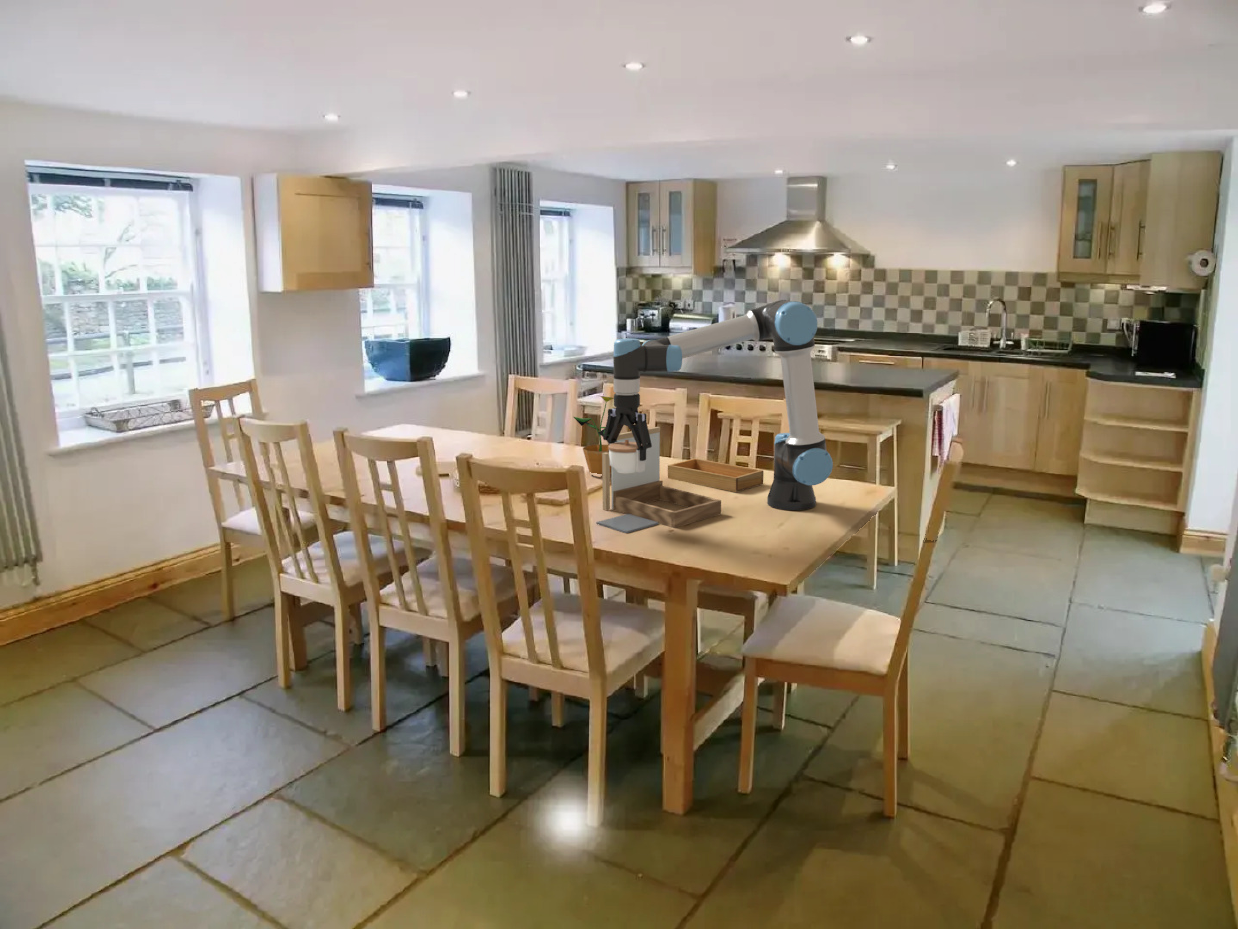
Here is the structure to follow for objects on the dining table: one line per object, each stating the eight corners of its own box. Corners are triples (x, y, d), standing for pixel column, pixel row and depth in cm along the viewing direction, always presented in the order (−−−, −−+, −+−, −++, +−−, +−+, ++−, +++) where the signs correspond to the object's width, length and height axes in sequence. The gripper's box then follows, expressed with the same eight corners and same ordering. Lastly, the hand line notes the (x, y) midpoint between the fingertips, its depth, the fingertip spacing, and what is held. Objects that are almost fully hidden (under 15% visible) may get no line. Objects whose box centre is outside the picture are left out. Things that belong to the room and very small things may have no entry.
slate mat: (658, 524, 274) (658, 522, 273) (626, 533, 265) (626, 531, 265) (628, 515, 283) (628, 513, 283) (596, 524, 274) (596, 522, 274)
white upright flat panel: (660, 498, 302) (660, 427, 297) (609, 511, 288) (608, 436, 282) (653, 496, 304) (653, 426, 299) (602, 509, 290) (601, 435, 284)
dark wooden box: (720, 514, 283) (721, 495, 282) (674, 527, 270) (674, 508, 269) (659, 498, 302) (659, 480, 301) (613, 510, 289) (613, 491, 288)
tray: (667, 479, 330) (667, 463, 328) (695, 472, 340) (695, 457, 339) (735, 494, 308) (736, 478, 307) (763, 486, 319) (763, 470, 317)
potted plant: (632, 479, 328) (631, 395, 322) (580, 482, 324) (578, 397, 317) (620, 468, 345) (619, 388, 339) (570, 471, 341) (569, 390, 334)
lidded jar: (603, 469, 273) (603, 437, 271) (637, 466, 277) (637, 435, 275) (616, 477, 264) (615, 444, 262) (651, 473, 267) (651, 441, 265)
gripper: (664, 396, 259) (664, 472, 264) (609, 387, 276) (609, 459, 281) (645, 398, 254) (645, 477, 259) (590, 390, 271) (591, 463, 276)
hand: (627, 468), depth 270 cm, fingers closed on lidded jar, 11 cm apart
